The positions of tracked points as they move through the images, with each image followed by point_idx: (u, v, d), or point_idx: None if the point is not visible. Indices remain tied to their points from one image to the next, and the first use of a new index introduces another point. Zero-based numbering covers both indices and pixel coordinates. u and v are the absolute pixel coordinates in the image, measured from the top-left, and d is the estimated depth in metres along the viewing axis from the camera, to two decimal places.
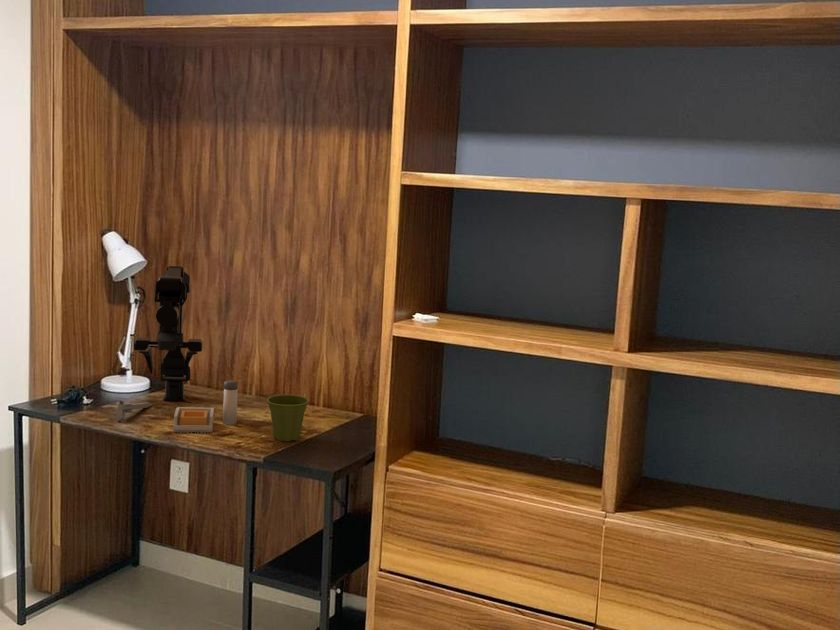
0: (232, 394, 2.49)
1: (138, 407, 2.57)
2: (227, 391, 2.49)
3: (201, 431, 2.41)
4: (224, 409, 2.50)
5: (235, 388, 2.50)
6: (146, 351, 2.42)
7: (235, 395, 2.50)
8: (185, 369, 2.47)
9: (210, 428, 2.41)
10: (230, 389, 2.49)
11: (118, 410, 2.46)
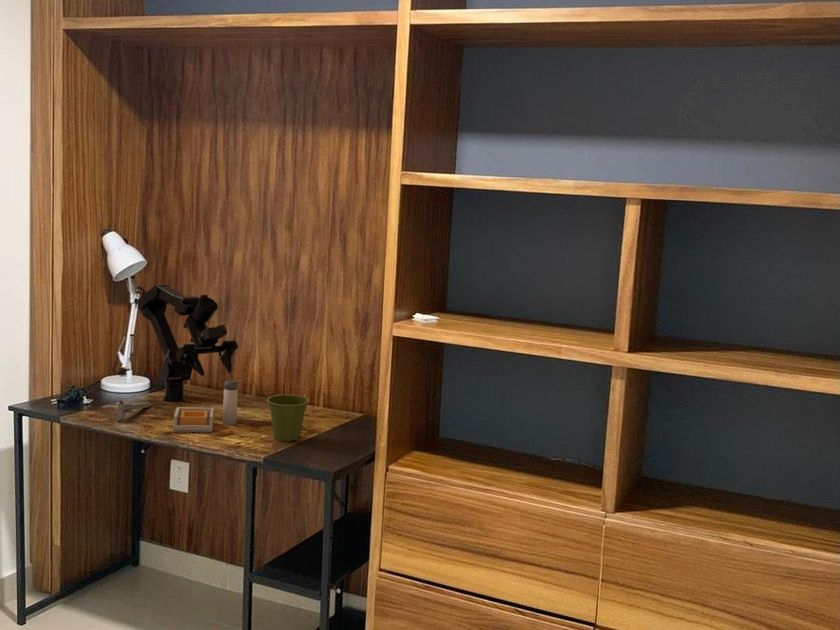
0: (232, 394, 2.50)
1: (138, 407, 2.57)
2: (227, 391, 2.49)
3: (201, 431, 2.41)
4: (224, 409, 2.50)
5: (235, 388, 2.50)
6: None
7: (235, 395, 2.50)
8: (230, 366, 2.59)
9: (210, 428, 2.41)
10: (230, 389, 2.49)
11: (118, 410, 2.46)
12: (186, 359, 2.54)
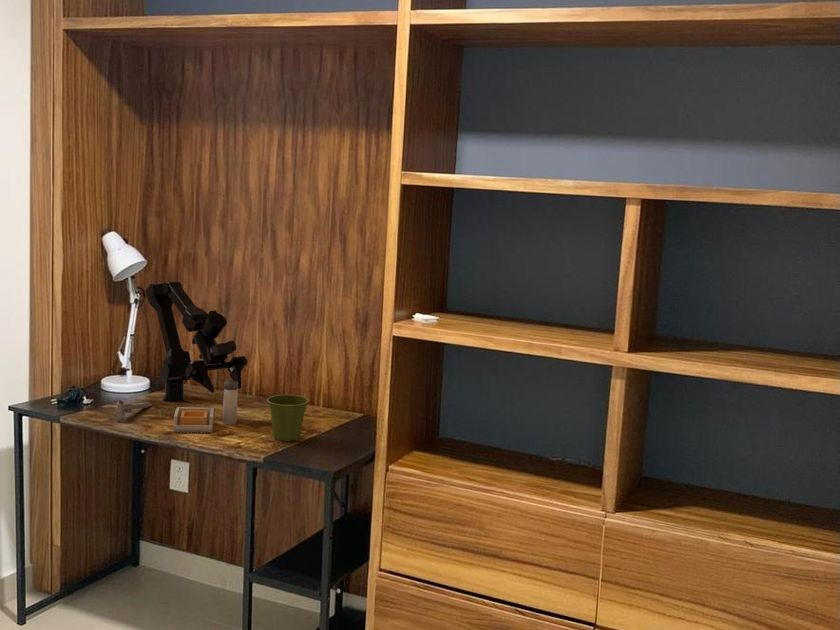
0: (232, 394, 2.49)
1: (138, 407, 2.57)
2: (227, 391, 2.49)
3: (201, 431, 2.41)
4: (224, 409, 2.50)
5: (235, 388, 2.50)
6: None
7: (235, 395, 2.50)
8: (240, 382, 2.56)
9: (210, 428, 2.41)
10: (230, 389, 2.49)
11: (118, 410, 2.46)
12: (195, 376, 2.50)
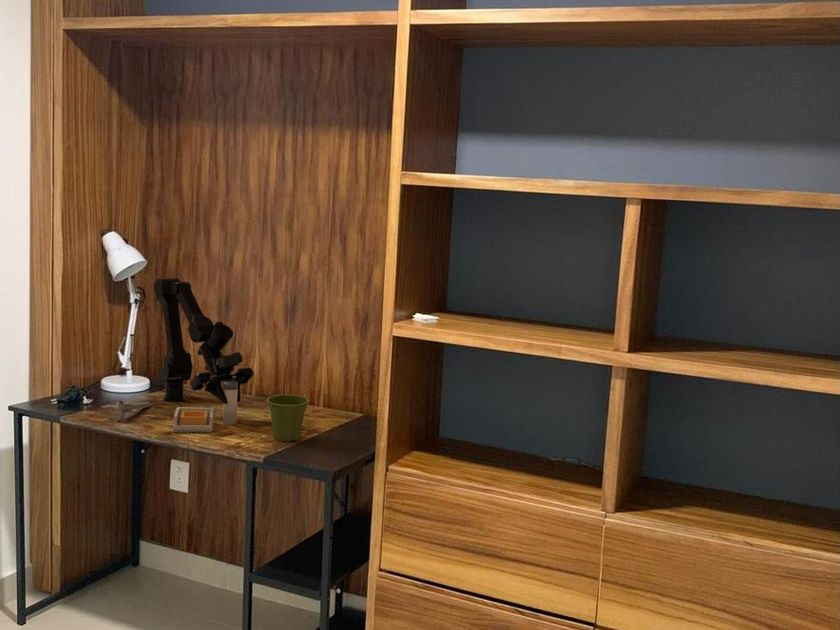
0: (232, 394, 2.50)
1: (138, 407, 2.57)
2: (227, 391, 2.49)
3: (201, 431, 2.41)
4: (224, 409, 2.50)
5: (235, 388, 2.50)
6: (217, 379, 2.49)
7: (235, 395, 2.50)
8: (239, 395, 2.53)
9: (210, 428, 2.41)
10: (230, 389, 2.49)
11: (118, 410, 2.46)
12: (209, 387, 2.50)
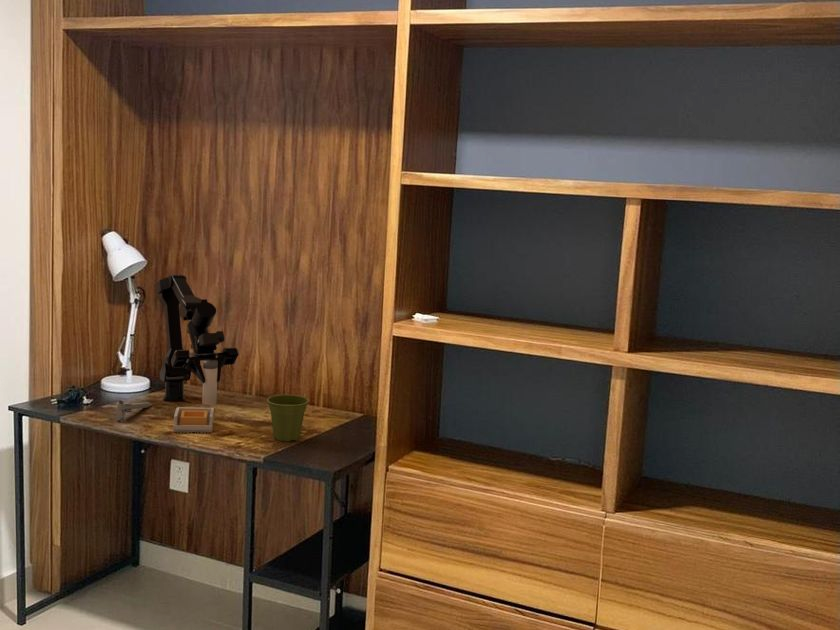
0: (210, 373, 2.44)
1: (138, 407, 2.57)
2: (205, 370, 2.44)
3: (201, 431, 2.41)
4: (203, 388, 2.45)
5: (213, 367, 2.44)
6: None
7: (214, 374, 2.44)
8: (219, 375, 2.46)
9: (210, 428, 2.41)
10: (208, 368, 2.44)
11: (117, 410, 2.46)
12: (189, 365, 2.46)
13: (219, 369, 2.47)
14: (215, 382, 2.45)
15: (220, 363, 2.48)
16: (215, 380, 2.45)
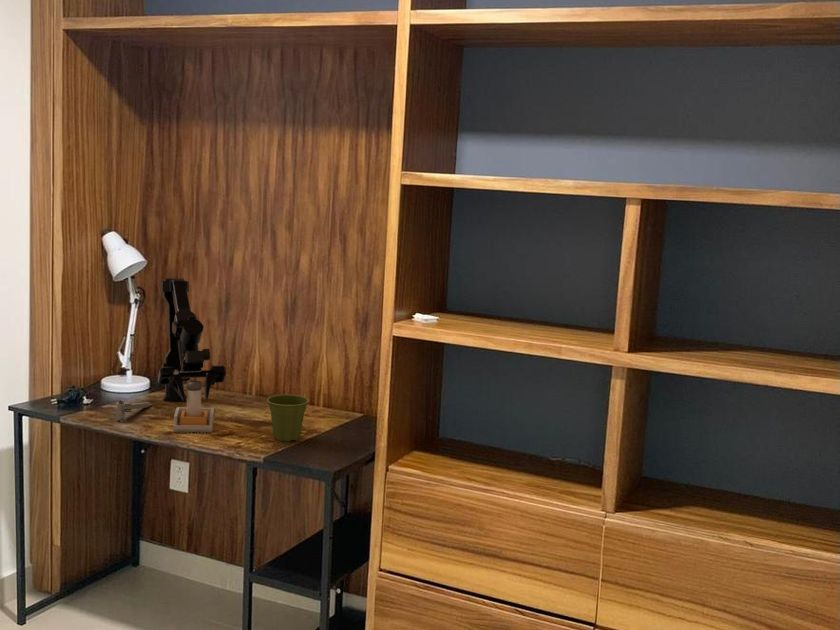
0: (193, 395, 2.42)
1: (138, 407, 2.57)
2: (188, 392, 2.42)
3: (201, 431, 2.41)
4: (187, 410, 2.44)
5: (196, 389, 2.42)
6: None
7: (197, 396, 2.43)
8: (207, 393, 2.45)
9: (210, 428, 2.41)
10: (191, 390, 2.42)
11: (117, 410, 2.46)
12: (171, 382, 2.44)
13: (208, 387, 2.46)
14: (198, 404, 2.44)
15: (210, 381, 2.47)
16: (198, 402, 2.43)
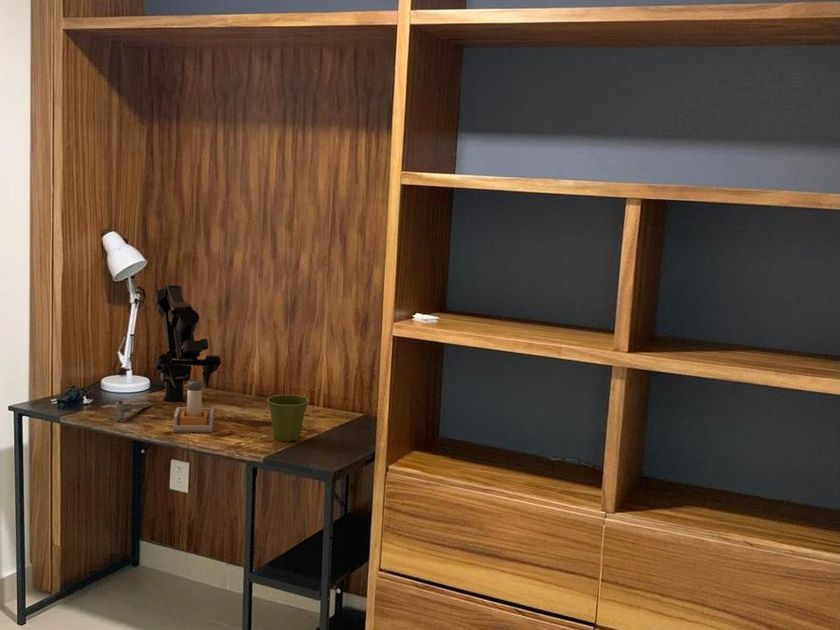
0: (193, 395, 2.42)
1: (138, 407, 2.58)
2: (189, 391, 2.43)
3: (201, 431, 2.41)
4: (187, 410, 2.44)
5: (197, 389, 2.43)
6: None
7: (197, 396, 2.43)
8: (207, 381, 2.54)
9: (210, 428, 2.41)
10: (191, 389, 2.42)
11: (117, 410, 2.46)
12: (163, 369, 2.51)
13: (208, 376, 2.55)
14: (199, 404, 2.44)
15: (210, 370, 2.56)
16: (199, 402, 2.44)
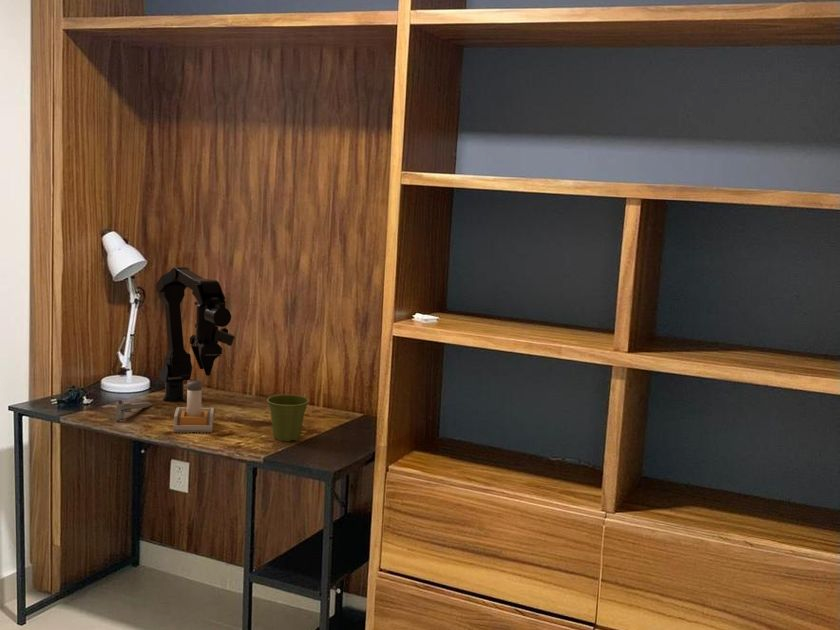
0: (193, 395, 2.42)
1: (138, 407, 2.58)
2: (189, 391, 2.42)
3: (201, 431, 2.41)
4: (187, 410, 2.44)
5: (197, 389, 2.42)
6: None
7: (197, 396, 2.43)
8: None
9: (210, 428, 2.41)
10: (191, 390, 2.42)
11: (117, 410, 2.46)
12: None
13: None
14: (199, 404, 2.44)
15: None
16: (199, 402, 2.44)
